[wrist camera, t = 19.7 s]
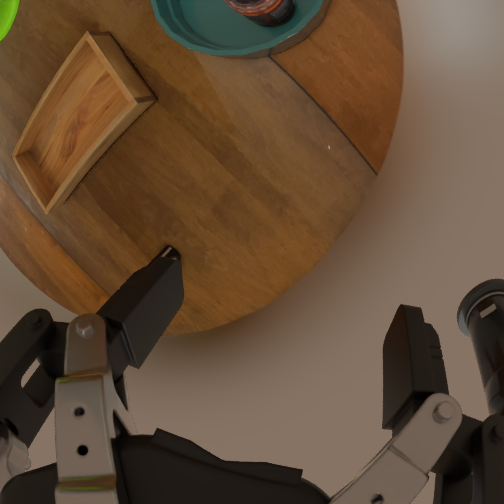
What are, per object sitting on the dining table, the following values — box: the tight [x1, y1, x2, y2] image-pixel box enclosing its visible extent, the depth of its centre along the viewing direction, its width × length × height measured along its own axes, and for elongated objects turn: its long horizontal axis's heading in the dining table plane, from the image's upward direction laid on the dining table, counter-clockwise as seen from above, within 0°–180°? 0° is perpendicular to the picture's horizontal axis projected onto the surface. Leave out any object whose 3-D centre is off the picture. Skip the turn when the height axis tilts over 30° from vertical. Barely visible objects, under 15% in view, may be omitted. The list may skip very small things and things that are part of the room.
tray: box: [12, 31, 156, 214], centre depth 41 cm, size 31×15×6 cm, turn 125°
